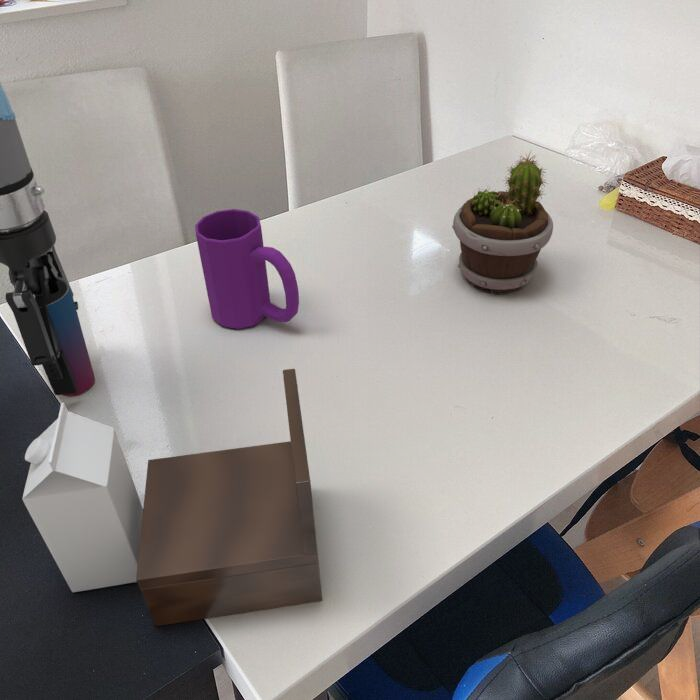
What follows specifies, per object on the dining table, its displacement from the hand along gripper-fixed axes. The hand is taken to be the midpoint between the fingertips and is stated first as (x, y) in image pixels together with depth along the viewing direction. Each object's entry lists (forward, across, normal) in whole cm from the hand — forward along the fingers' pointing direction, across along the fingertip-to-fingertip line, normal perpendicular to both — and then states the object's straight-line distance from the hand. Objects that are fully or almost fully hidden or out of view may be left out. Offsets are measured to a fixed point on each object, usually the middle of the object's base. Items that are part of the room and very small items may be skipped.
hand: (71, 371), depth 90 cm
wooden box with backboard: (+2, -30, -21) cm, 37 cm away
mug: (+2, +10, -25) cm, 27 cm away
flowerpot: (+2, +14, -63) cm, 65 cm away
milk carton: (+2, -28, -8) cm, 30 cm away
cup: (+2, 0, 0) cm, 2 cm away
